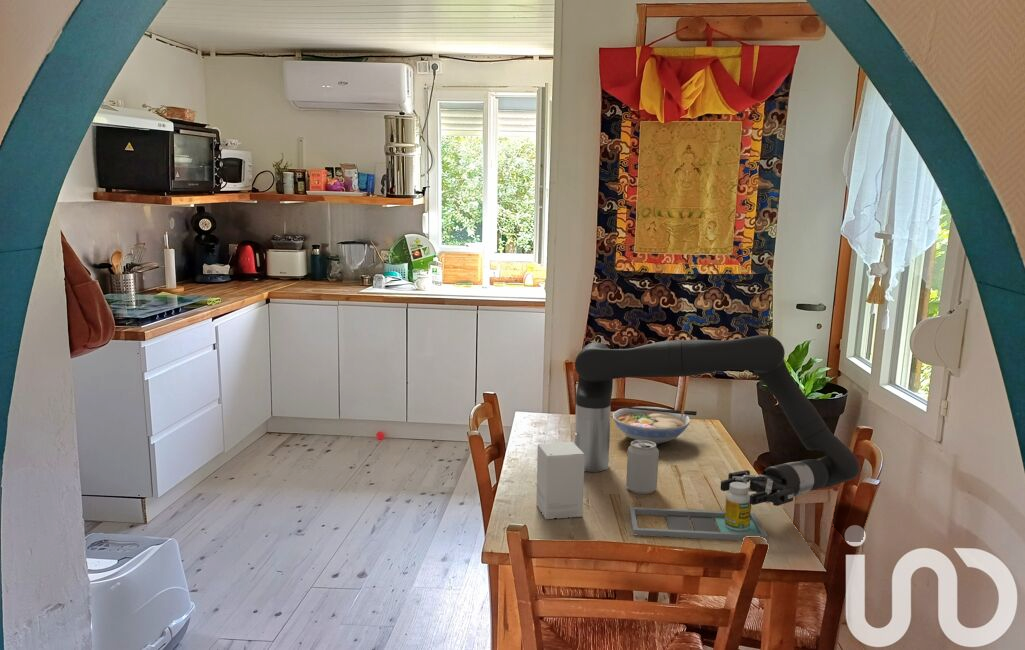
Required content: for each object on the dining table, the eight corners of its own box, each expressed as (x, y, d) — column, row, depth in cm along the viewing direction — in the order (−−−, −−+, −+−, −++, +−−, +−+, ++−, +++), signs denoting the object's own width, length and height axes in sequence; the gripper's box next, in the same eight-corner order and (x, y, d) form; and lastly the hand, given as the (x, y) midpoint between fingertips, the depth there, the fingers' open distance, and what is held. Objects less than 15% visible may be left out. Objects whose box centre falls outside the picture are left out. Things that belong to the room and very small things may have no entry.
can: (638, 497, 181) (640, 449, 179) (620, 487, 188) (621, 440, 186) (663, 492, 184) (665, 445, 182) (644, 482, 191) (646, 436, 189)
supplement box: (583, 517, 169) (586, 453, 167) (545, 520, 168) (546, 456, 165) (572, 501, 178) (574, 440, 176) (535, 504, 176) (536, 442, 174)
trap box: (633, 535, 161) (633, 529, 161) (629, 512, 173) (629, 507, 172) (767, 541, 159) (767, 536, 158) (753, 517, 170) (754, 512, 170)
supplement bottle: (735, 519, 169) (737, 478, 167) (755, 528, 164) (757, 486, 163) (719, 525, 166) (721, 483, 164) (738, 534, 161) (741, 491, 160)
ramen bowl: (600, 447, 217) (601, 420, 216) (615, 425, 239) (616, 400, 237) (689, 458, 209) (690, 429, 208) (696, 434, 231) (697, 408, 229)
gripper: (764, 455, 176) (713, 466, 168) (815, 474, 164) (762, 487, 156) (762, 485, 178) (711, 498, 170) (812, 507, 165) (760, 521, 158)
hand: (736, 493), depth 163 cm, fingers open, 8 cm apart
